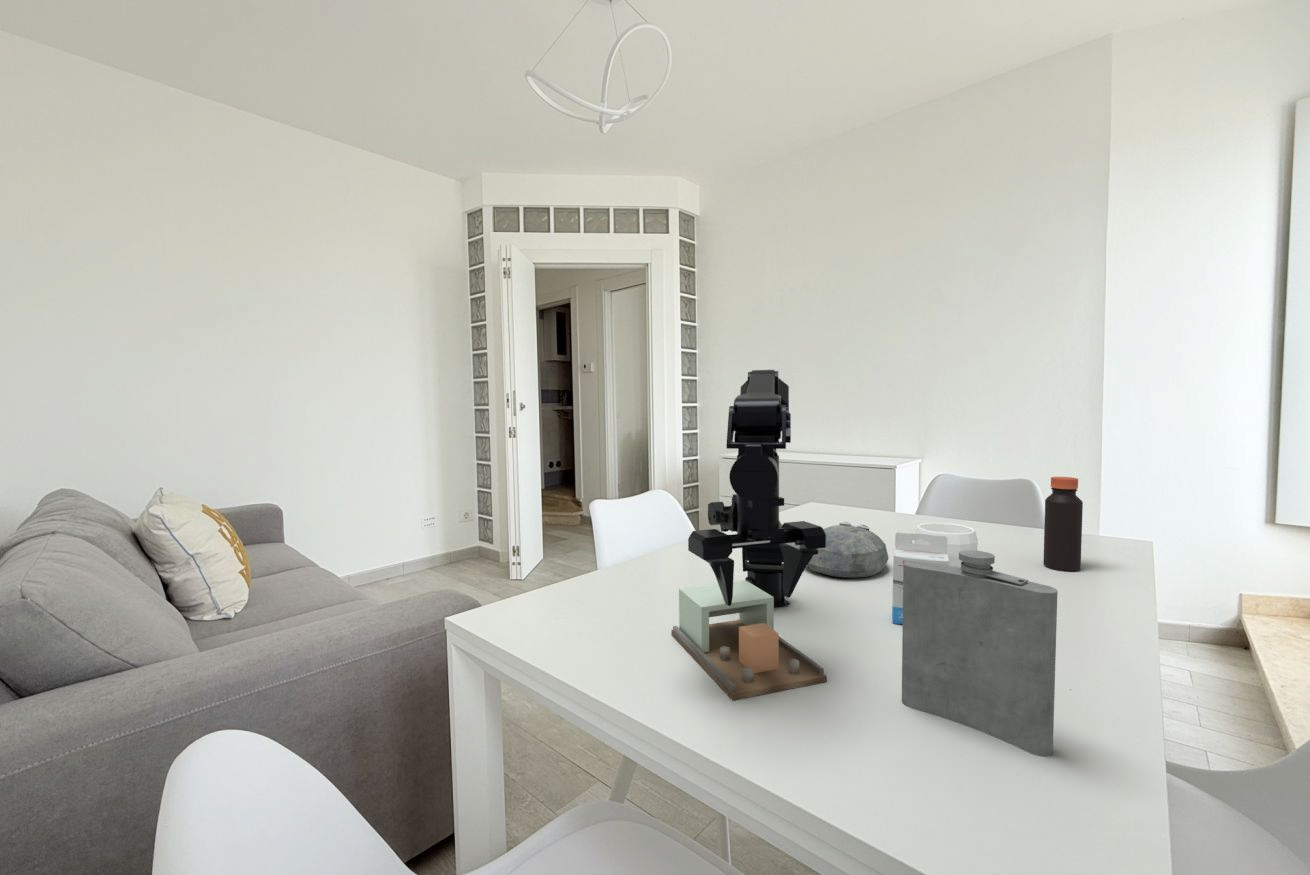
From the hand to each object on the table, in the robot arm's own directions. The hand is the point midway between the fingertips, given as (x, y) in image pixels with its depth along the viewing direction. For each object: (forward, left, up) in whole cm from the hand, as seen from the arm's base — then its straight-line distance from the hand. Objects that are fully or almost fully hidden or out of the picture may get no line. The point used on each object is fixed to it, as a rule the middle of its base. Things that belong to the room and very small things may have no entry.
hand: (758, 600), depth 80 cm
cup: (-61, -27, -10) cm, 68 cm away
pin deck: (0, -5, -10) cm, 11 cm away
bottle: (-87, -20, -10) cm, 90 cm away
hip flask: (-17, +20, -10) cm, 28 cm away
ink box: (-34, -6, -10) cm, 36 cm away
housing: (0, -11, -10) cm, 15 cm away
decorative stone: (-43, -37, -10) cm, 58 cm away
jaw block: (0, 0, -9) cm, 9 cm away
